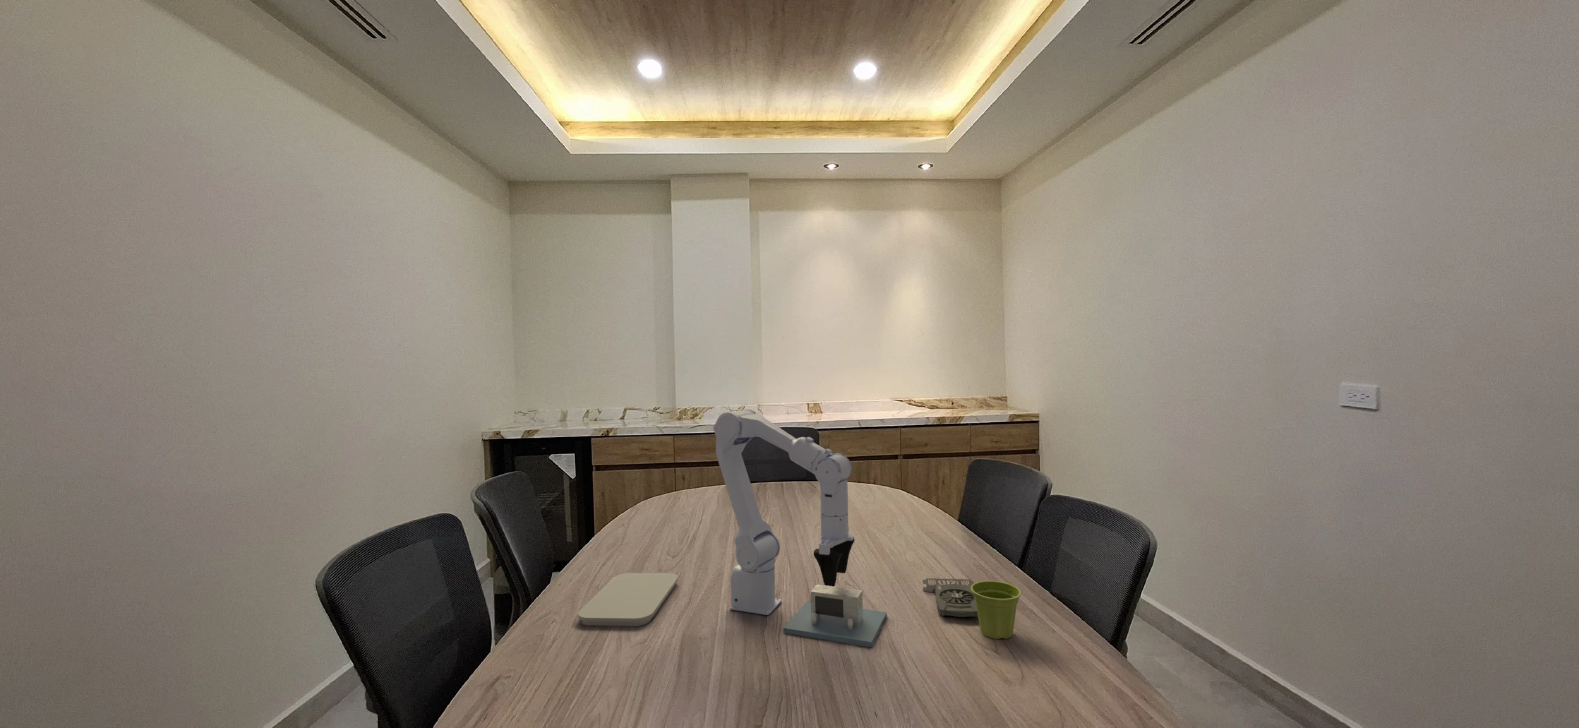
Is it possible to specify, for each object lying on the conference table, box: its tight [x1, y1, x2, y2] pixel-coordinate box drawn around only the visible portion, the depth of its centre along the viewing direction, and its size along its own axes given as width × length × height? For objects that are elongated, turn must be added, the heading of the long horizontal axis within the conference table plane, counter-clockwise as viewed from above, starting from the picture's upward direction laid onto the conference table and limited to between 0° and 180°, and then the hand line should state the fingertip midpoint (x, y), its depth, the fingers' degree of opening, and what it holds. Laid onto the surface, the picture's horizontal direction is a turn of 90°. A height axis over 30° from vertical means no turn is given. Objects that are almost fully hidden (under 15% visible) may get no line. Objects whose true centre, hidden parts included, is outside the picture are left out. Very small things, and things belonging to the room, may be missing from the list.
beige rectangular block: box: [810, 584, 864, 628], centre depth 120 cm, size 10×4×6 cm, turn 69°
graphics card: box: [922, 577, 978, 620], centre depth 129 cm, size 17×4×12 cm
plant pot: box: [971, 580, 1022, 640], centre depth 115 cm, size 9×9×9 cm
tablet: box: [577, 572, 679, 627], centre depth 134 cm, size 16×26×2 cm, turn 176°
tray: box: [783, 600, 888, 648], centre depth 120 cm, size 18×14×3 cm
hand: (835, 578), depth 120 cm, fingers open, 7 cm apart
